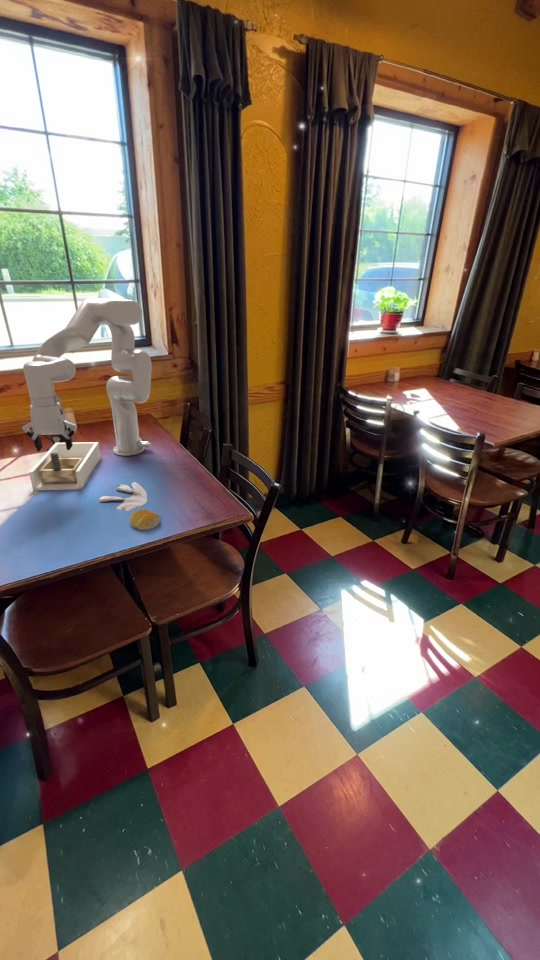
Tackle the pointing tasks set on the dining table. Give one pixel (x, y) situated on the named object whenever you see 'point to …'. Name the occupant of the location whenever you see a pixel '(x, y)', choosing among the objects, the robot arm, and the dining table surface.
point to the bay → (78, 450)
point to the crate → (59, 469)
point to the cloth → (128, 503)
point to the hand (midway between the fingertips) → (54, 449)
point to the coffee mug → (58, 437)
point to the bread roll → (144, 519)
